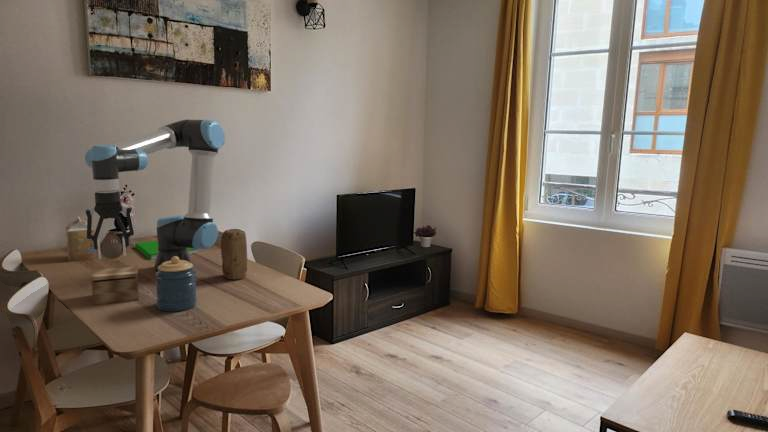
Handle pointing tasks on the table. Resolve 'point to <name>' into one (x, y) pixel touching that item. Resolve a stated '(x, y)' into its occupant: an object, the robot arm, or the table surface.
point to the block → (234, 253)
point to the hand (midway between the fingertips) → (112, 256)
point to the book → (154, 249)
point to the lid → (114, 273)
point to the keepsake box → (115, 290)
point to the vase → (111, 246)
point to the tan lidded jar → (79, 242)
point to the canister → (176, 285)
